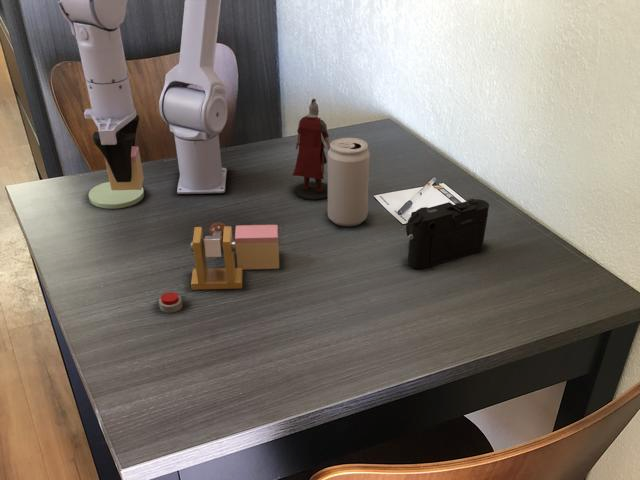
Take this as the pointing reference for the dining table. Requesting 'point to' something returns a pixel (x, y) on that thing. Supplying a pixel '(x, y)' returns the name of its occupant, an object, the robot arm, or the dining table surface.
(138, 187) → the cake slice
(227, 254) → the stand
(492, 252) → the dining table surface
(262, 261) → the cake
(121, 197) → the plate
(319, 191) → the figurine
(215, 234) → the cutter
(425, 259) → the camera
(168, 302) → the push button
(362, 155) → the beverage can
